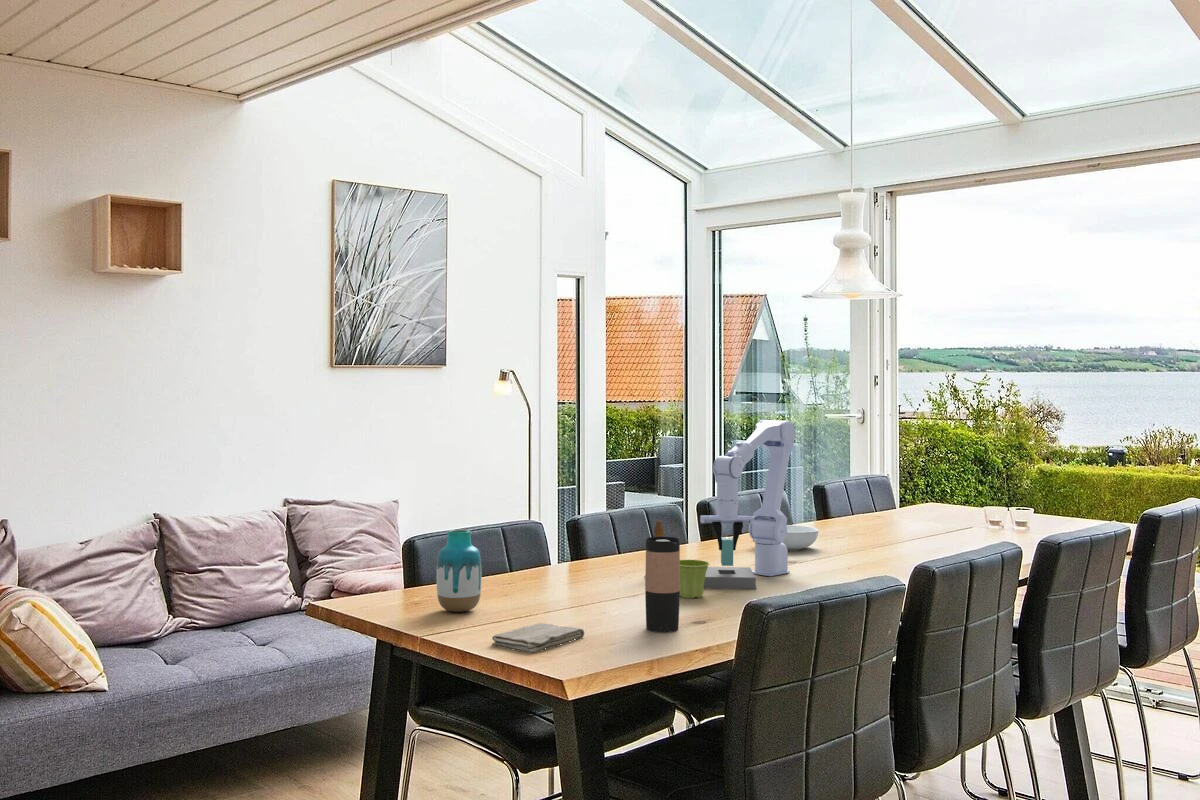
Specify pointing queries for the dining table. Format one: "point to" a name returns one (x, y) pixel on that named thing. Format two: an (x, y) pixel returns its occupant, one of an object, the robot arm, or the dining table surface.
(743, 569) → the keyed socket
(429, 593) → the dining table surface
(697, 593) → the plant pot
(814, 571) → the dining table surface
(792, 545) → the serving bowl
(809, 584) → the dining table surface
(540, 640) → the washcloth
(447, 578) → the vase
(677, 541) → the travel mug
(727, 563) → the keyed peg
